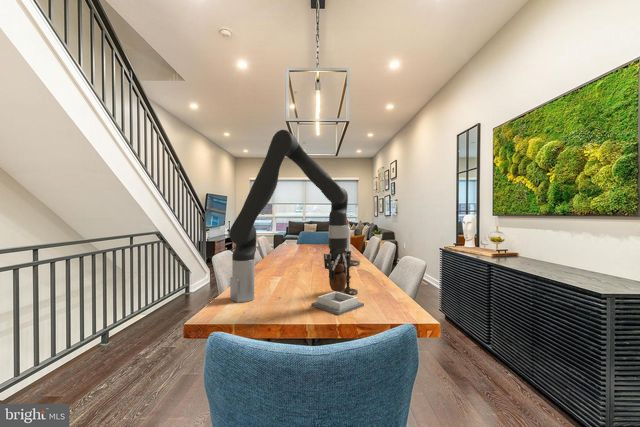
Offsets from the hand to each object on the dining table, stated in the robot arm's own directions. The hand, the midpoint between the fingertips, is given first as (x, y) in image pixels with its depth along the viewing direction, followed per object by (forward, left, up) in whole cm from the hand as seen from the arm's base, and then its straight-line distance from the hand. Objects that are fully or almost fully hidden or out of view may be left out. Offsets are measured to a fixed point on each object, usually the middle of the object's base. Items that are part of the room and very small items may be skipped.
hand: (337, 277), depth 117 cm
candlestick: (+17, +9, -11) cm, 22 cm away
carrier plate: (0, 0, -11) cm, 11 cm away
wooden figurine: (0, 0, -5) cm, 5 cm away
